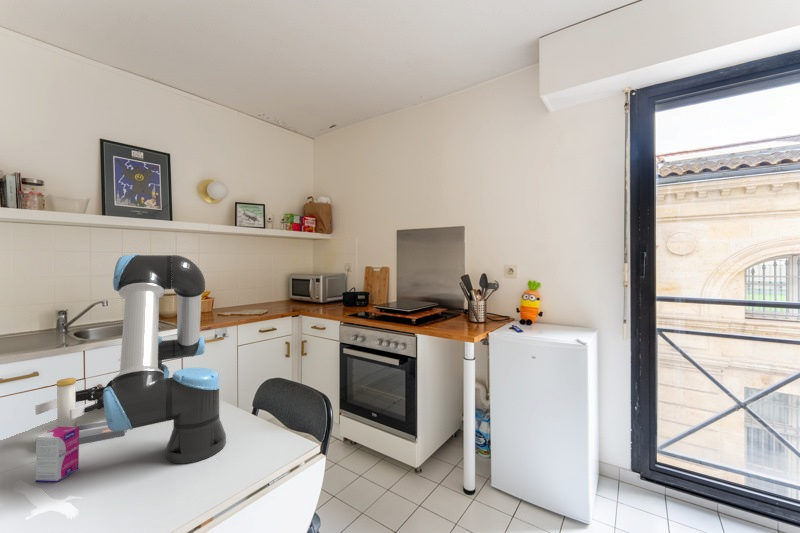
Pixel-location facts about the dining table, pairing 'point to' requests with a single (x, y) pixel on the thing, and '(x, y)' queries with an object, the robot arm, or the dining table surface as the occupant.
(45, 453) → the supplement box
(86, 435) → the switch panel
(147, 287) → the robot arm
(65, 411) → the switch handle
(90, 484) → the dining table surface
